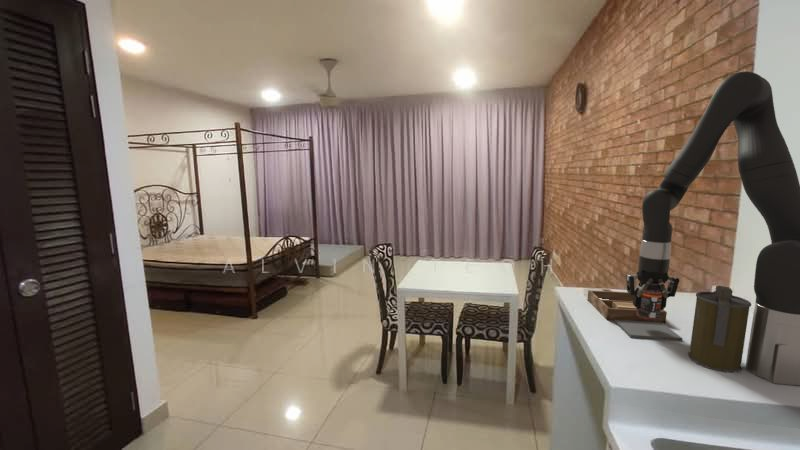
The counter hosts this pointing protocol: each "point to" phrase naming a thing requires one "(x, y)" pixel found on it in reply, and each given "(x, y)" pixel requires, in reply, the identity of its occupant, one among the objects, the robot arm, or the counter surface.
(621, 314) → the walnut tray
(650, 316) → the supplement bottle
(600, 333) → the counter surface
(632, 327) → the charcoal mat
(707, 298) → the canister
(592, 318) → the counter surface
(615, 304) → the upper offcut
